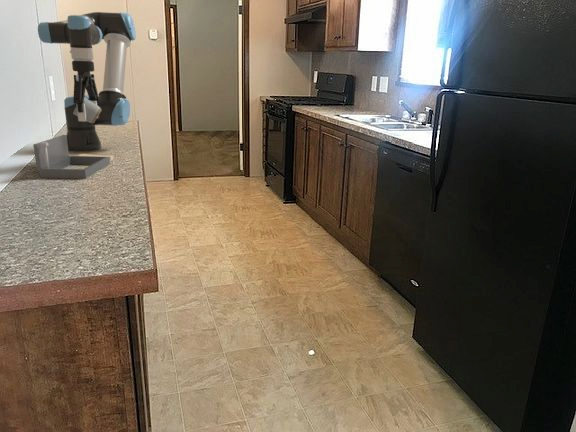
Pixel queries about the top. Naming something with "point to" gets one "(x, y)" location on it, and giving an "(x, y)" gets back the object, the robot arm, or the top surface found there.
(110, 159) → the beige square panel
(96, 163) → the case
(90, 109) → the ceramic mug
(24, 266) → the top surface
